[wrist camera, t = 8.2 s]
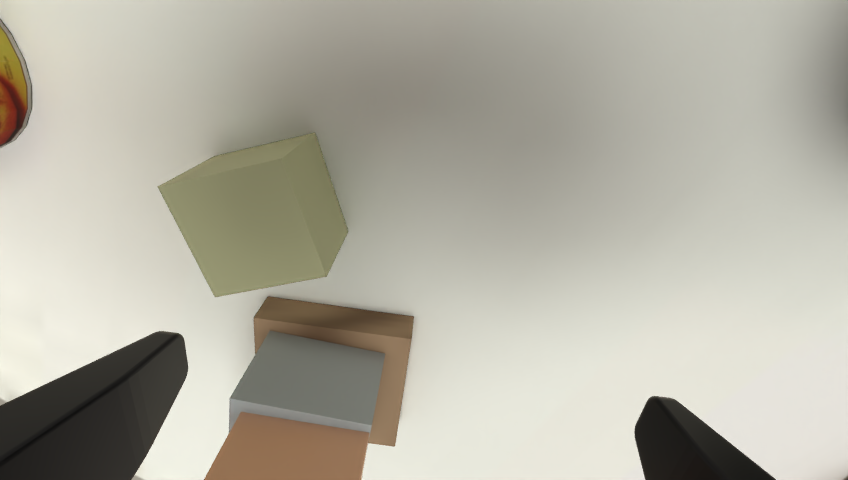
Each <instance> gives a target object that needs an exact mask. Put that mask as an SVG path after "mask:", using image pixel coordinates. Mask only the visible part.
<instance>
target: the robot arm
mask: <svg viewBox="0 0 848 480" xmlns="http://www.w3.org/2000/svg"><path fill="white" fill-rule="evenodd" d="M187 372H188V362H187V356H186V349H185V342H184V338H183V336H182V335H181V334H179V333H173V332H165V331H159V332H155V333H153V334H151V335H149V336H147V337H145V338H142V339H140V340H138V341H136V342H134V343H132V344H130V345H128V346H126V347H123V348H121V349H119V350H117V351H115V352H113V353H111V354H109V355H107V356H104V357H102V358H100V359H98V360H96V361H94V362H92V363H90V364H87V365H85V366H83V367H81V368H79V369H77V370H75V371H73V372H71V373H68V374H66V375H64V376H62V377H60V378H58V379H56V380H54V381H51V382H49V383H47V384H45V385H43V386H41V387H39V388H37V389H35V390H32V391H30V392H28V393H26V394H24V395H22V396H20V397H18V398H15V399H13V400H11V401H9V402H7V403H5V404H3V405H1V406H0V480H131V479H132V478H133V476H134V475H135V473H136V472H137V470H138V468H139V467H140V465H141V464H142V462H143V460H144V459H145V457H146V455H147V453H148V452H149V450H150V448H151V446H152V444H153V442H154V440H155V438H156V436H157V434H158V432H159V430H160V428H161V426H162V424H163V423H164V421H165V419H166V417H167V415H168V413H169V411H170V409H171V407H172V405H173V403H174V401H175V399H176V397H177V395H178V393H179V391H180V389H181V387H182V385H183V383H184V381H185V379H186V376H187ZM635 440H636V444H637V448H638V452H639V456H640V460H641V464H642V468H643V472H644V476H645V480H776V479H775V478H773V477H772V476H771V475H770V474H768V473H767V472H766V471H765V470H763V469H762V468H761V467H760V466H758V465H757V464H756V463H755V462H753V461H752V460H751V459H749V458H748V457H747V456H746V455H744V454H743V453H742V452H741V451H739V450H738V449H737V448H736V447H734V446H733V445H732V444H731V443H729V442H728V441H727V440H726V439H724V438H723V437H722V436H721V435H719V434H718V433H717V432H716V431H714V430H713V429H712V428H711V427H709V426H708V425H707V424H706V423H704V422H703V421H702V420H700V419H699V418H698V417H697V416H695V415H694V414H693V413H692V412H690V411H689V410H688V409H687V408H685V407H684V406H683V405H682V404H680V403H679V402H678V401H676V400H675V399H672V398H667V397H659V396H652V397H650V398H649V399H648V401H647V402H646V404H645V407H644V409H643V411H642V413H641V415H640V417H639V419H638V421H637V423H636V426H635Z"/></svg>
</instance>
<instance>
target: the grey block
mask: <svg viewBox="0 0 848 480" xmlns="http://www.w3.org/2000/svg"><path fill="white" fill-rule="evenodd" d="M384 358H385V353H380V352H375V351H370V350H365V349H360V348H355V347H350V346H345V345H340V344H335V343H330V342H325V341H320V340H315V339H310V338H305V337H300V336H295V335H290V334H285V333H279V332H274V331H269V333H268V334H267V336H266V338H265V339H264V341H263V343H262V345H261V346H260V348H259V350H258V351H257V353H256V355H255V356H254V358H253V360H252V361H251V363H250V365H249V367H248V368H247V370H246V372H245V373H244V375H243V377H242V378H241V380H240V382H239V383H238V385H237V387H236V389H235V390H234V392H233V394H232V395H231V397H230V408H229V433H230V431H231V429H232V427H233V425H234V423H235V422H236V420H237V418H238V416H239V414H240V412H246V413H252V414H258V415H265V416H271V417H277V418H283V419H289V420H295V421H301V422H308V423H314V424H320V425H326V426H332V427H338V428H344V429H351V430H357V431H363V432H369V436H370V431H371V427H372V422H373V417H374V411H375V406H376V401H377V395H378V390H379V385H380V380H381V374H382V369H383V364H384ZM368 440H369V439H368Z"/></svg>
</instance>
